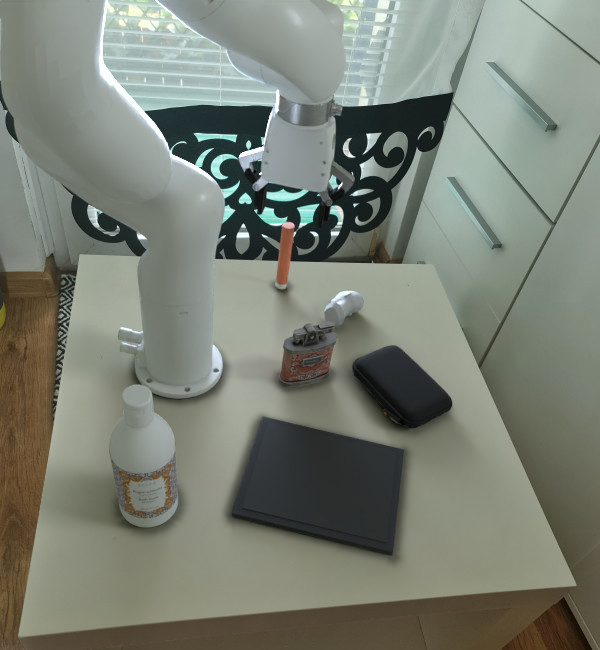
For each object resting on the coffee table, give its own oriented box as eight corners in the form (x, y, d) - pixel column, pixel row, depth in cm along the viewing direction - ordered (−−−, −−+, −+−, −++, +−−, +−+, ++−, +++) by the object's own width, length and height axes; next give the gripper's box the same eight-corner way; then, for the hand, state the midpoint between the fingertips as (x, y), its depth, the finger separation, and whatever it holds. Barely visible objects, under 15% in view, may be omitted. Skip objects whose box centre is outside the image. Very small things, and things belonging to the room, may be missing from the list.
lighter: (283, 390, 90) (291, 340, 82) (275, 374, 92) (281, 324, 84) (332, 378, 93) (344, 329, 85) (323, 363, 94) (334, 313, 87)
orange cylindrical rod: (274, 288, 105) (281, 227, 96) (276, 281, 107) (283, 220, 98) (285, 290, 105) (293, 230, 96) (287, 283, 106) (295, 223, 98)
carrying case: (338, 373, 93) (401, 440, 86) (342, 359, 91) (406, 427, 84) (391, 350, 98) (454, 412, 91) (396, 336, 96) (461, 399, 89)
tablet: (231, 516, 75) (231, 512, 74) (262, 419, 86) (262, 415, 85) (391, 555, 74) (393, 551, 73) (402, 452, 85) (404, 448, 84)
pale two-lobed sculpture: (345, 304, 106) (369, 312, 103) (315, 323, 102) (338, 331, 99) (344, 281, 104) (368, 288, 101) (312, 300, 99) (337, 307, 96)
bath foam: (120, 533, 72) (100, 425, 57) (118, 483, 76) (98, 371, 61) (181, 525, 73) (176, 418, 58) (175, 477, 78) (169, 366, 63)
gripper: (369, 107, 85) (348, 215, 98) (248, 83, 86) (243, 193, 99) (362, 131, 80) (341, 241, 93) (234, 105, 81) (231, 218, 94)
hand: (291, 216), depth 96 cm, fingers open, 9 cm apart
